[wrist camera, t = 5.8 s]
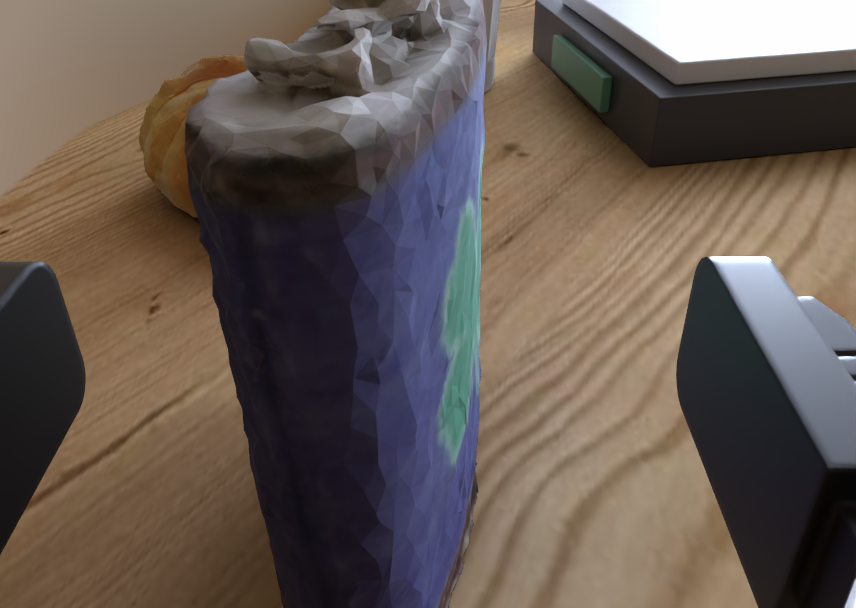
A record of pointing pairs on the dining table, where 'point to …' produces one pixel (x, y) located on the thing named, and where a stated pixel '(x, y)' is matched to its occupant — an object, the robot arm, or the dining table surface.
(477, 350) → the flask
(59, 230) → the dining table surface
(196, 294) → the dining table surface
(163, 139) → the pastry
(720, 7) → the scale
